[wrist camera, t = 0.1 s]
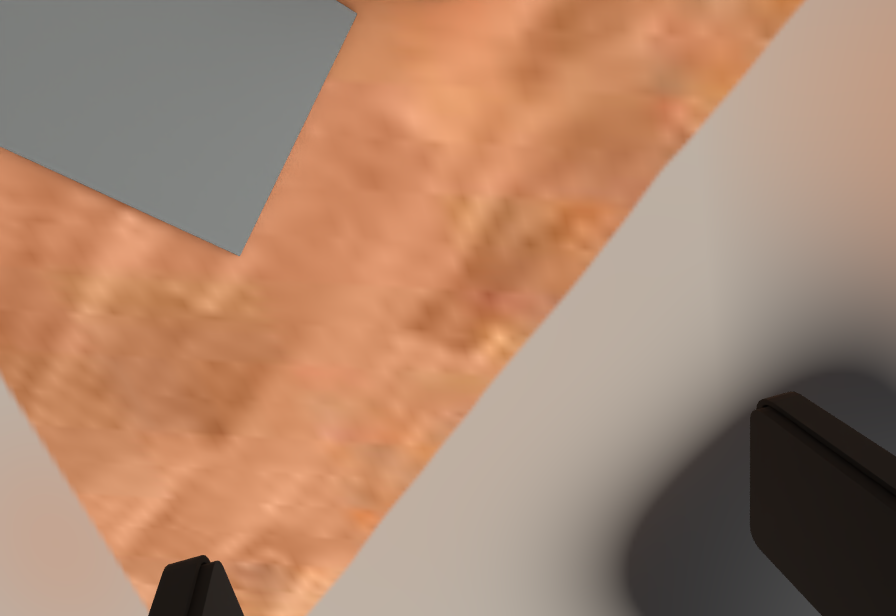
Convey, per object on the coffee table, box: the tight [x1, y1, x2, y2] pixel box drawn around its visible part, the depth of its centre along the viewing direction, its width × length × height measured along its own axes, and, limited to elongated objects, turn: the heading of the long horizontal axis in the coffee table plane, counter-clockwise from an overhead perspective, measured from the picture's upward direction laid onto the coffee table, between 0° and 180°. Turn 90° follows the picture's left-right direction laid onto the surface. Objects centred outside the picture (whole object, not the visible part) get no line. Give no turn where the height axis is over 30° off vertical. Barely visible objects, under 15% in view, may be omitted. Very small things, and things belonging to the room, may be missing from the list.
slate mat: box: [0, 0, 357, 256], centre depth 34 cm, size 16×16×1 cm
